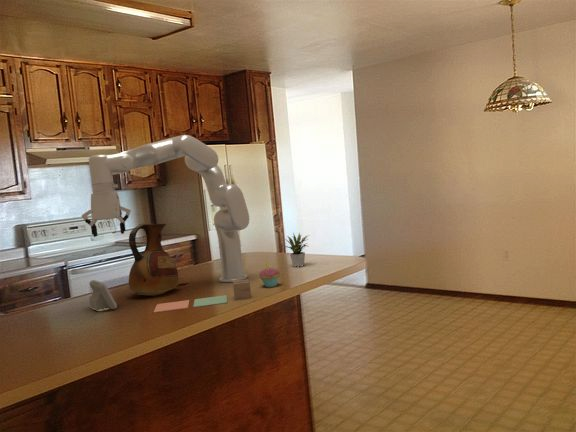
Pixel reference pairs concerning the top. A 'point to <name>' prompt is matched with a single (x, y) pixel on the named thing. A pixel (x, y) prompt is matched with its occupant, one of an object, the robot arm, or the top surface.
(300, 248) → the house plant
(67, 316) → the top surface
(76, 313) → the top surface
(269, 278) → the cupcake
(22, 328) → the top surface
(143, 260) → the ceramic pitcher
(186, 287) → the top surface
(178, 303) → the mat
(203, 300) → the mat
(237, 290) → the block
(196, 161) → the robot arm
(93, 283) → the digital clock
